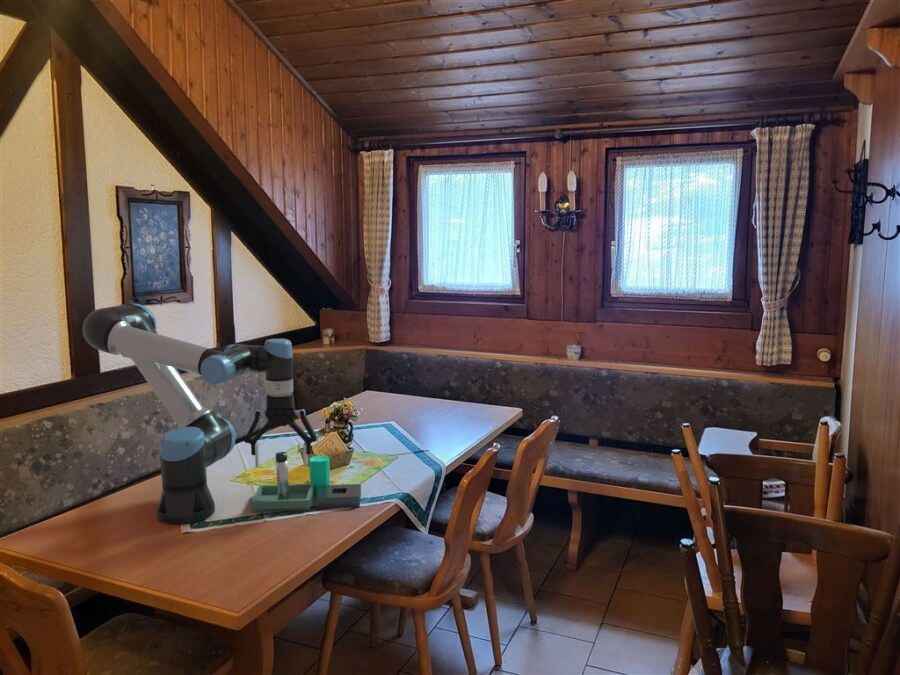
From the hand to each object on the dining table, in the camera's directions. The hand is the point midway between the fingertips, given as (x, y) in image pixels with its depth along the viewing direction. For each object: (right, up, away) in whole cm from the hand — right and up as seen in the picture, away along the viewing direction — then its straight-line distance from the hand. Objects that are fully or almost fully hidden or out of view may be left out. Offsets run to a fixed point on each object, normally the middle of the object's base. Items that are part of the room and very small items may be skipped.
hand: (281, 465), depth 207 cm
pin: (0, -10, +2) cm, 10 cm away
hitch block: (+16, -11, +3) cm, 20 cm away
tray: (0, -11, +2) cm, 11 cm away
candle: (+9, -10, +11) cm, 18 cm away
